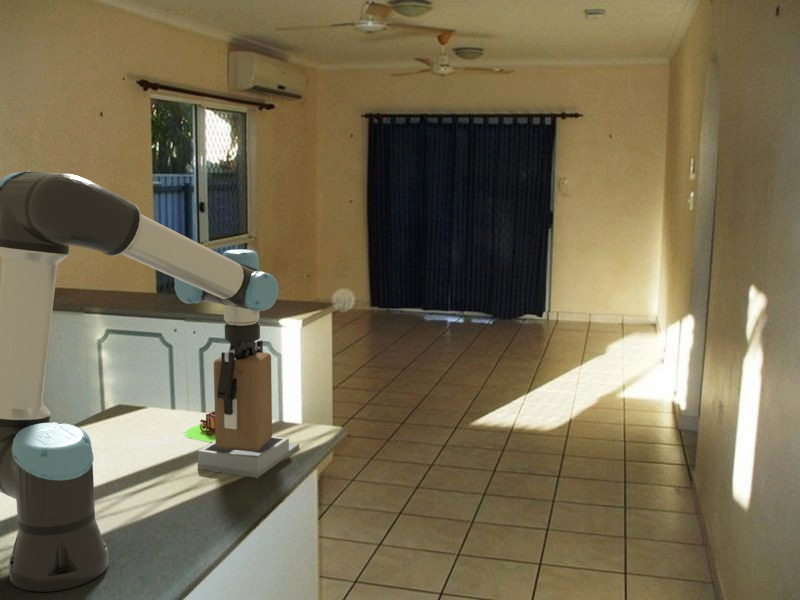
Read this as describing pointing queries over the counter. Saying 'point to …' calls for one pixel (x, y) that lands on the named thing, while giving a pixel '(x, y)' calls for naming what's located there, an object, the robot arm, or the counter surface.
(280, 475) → the counter surface
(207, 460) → the open square tray
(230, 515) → the counter surface
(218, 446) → the wooden block
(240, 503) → the counter surface
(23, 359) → the robot arm
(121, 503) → the counter surface
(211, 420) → the wagon
